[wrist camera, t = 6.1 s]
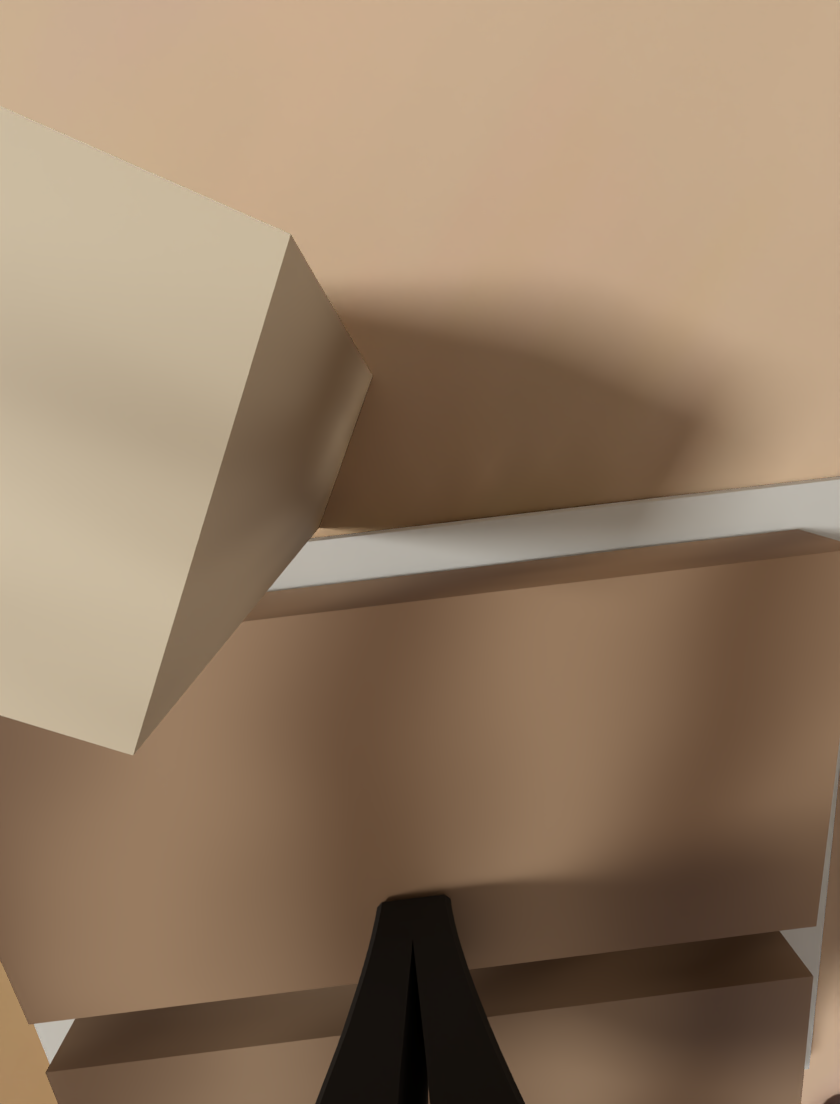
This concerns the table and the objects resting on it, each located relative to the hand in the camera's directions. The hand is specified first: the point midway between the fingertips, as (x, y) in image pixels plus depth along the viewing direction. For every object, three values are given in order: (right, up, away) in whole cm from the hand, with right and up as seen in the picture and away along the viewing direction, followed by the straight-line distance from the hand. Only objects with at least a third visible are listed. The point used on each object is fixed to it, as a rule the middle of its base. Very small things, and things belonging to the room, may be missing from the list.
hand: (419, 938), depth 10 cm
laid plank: (0, -4, +3) cm, 5 cm away
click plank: (0, +3, +1) cm, 3 cm away
